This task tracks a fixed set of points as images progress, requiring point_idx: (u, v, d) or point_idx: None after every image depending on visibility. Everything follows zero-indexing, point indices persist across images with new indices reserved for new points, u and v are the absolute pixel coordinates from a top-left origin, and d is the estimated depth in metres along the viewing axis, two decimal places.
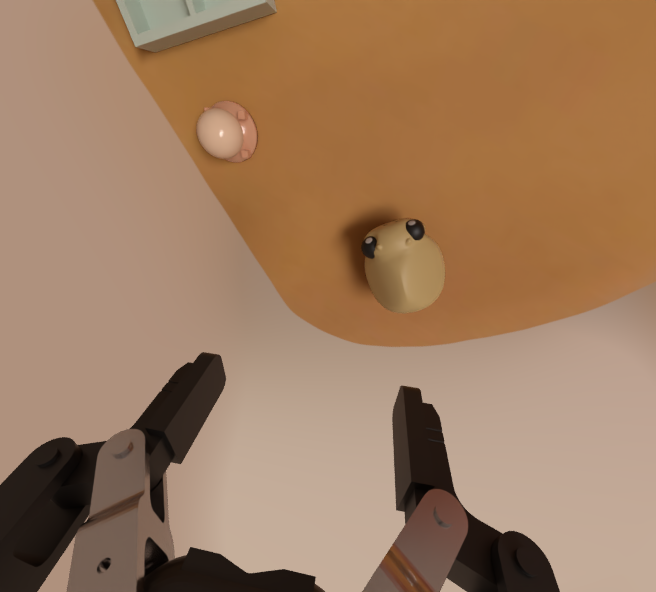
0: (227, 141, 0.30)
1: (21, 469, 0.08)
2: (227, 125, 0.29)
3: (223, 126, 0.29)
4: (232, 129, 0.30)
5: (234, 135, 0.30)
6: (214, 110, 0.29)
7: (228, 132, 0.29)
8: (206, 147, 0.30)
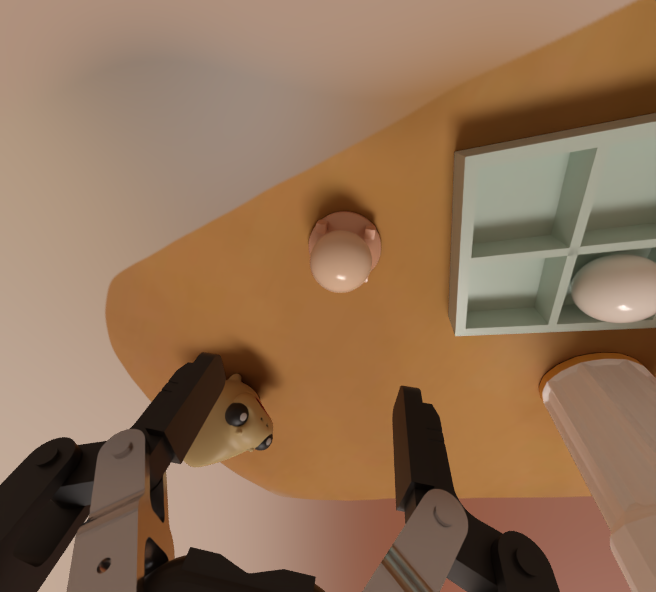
0: (330, 289, 0.21)
1: (20, 469, 0.08)
2: None
3: (348, 289, 0.21)
4: None
5: (338, 292, 0.22)
6: (368, 272, 0.21)
7: (341, 292, 0.22)
8: (321, 261, 0.20)
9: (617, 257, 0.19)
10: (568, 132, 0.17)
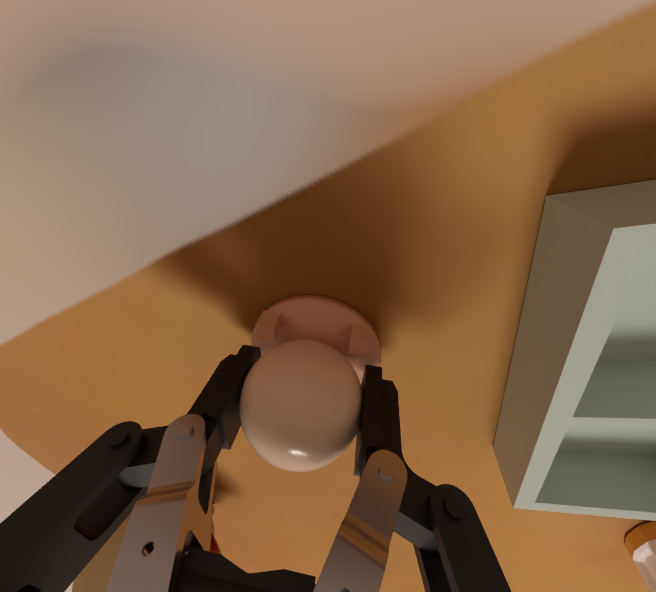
0: None
1: (97, 443, 0.08)
2: None
3: None
4: None
5: None
6: (355, 433, 0.10)
7: None
8: (254, 428, 0.09)
9: None
10: None
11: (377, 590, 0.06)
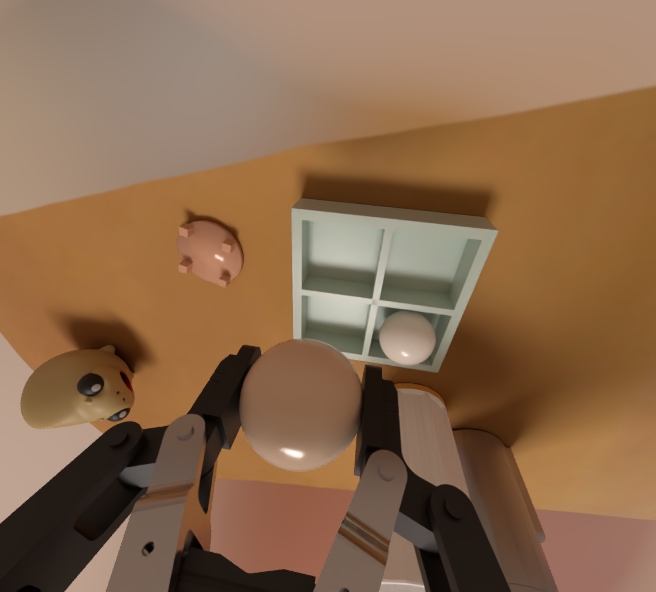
0: None
1: (97, 443, 0.08)
2: None
3: None
4: None
5: None
6: (355, 432, 0.10)
7: None
8: (254, 427, 0.09)
9: (406, 314, 0.24)
10: (377, 210, 0.21)
11: (377, 590, 0.06)
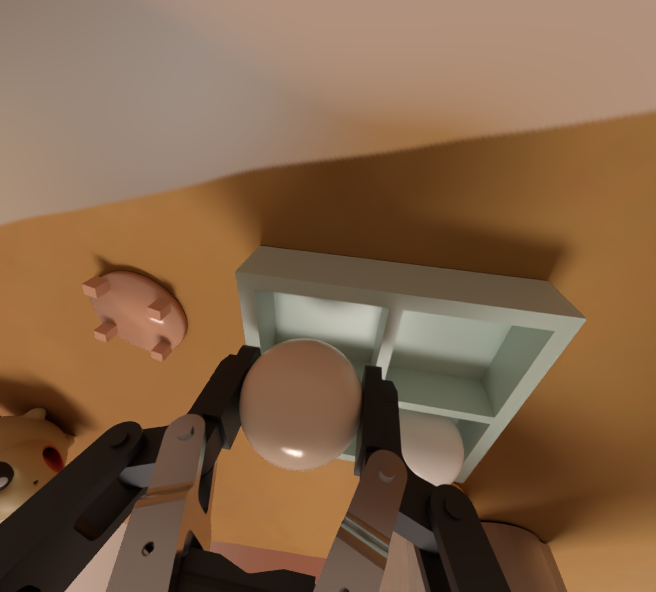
0: None
1: (97, 443, 0.08)
2: None
3: None
4: None
5: None
6: (355, 432, 0.10)
7: None
8: (254, 427, 0.09)
9: (420, 415, 0.16)
10: (376, 270, 0.13)
11: (377, 590, 0.06)
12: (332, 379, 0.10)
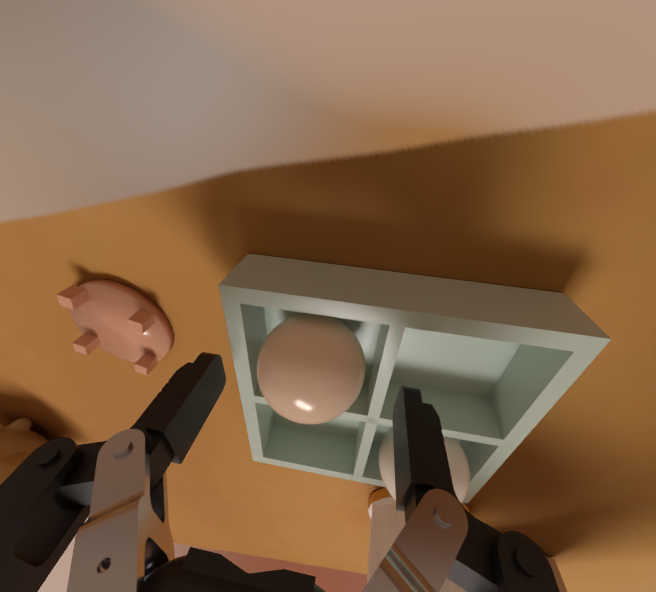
0: None
1: (21, 469, 0.08)
2: None
3: (323, 422, 0.12)
4: None
5: None
6: (358, 391, 0.12)
7: None
8: (271, 383, 0.11)
9: None
10: (375, 282, 0.12)
11: None
12: (338, 343, 0.11)
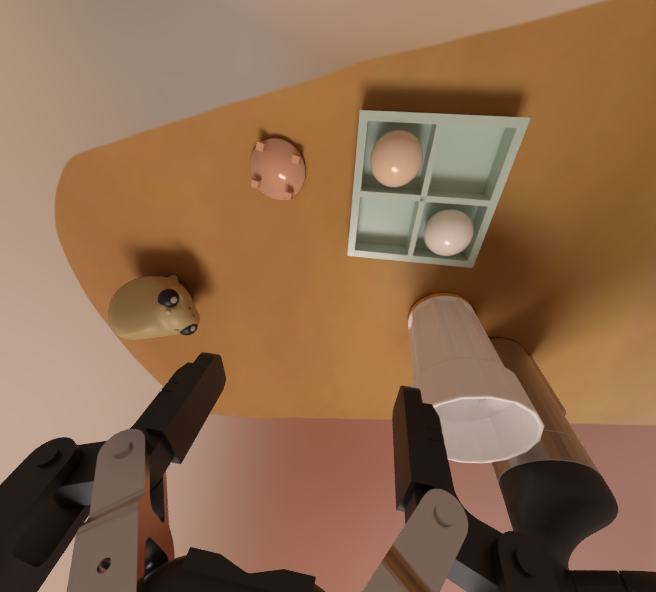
0: (389, 180, 0.26)
1: (21, 469, 0.08)
2: (404, 182, 0.26)
3: (404, 179, 0.26)
4: (400, 185, 0.27)
5: (394, 186, 0.27)
6: (420, 163, 0.26)
7: (397, 183, 0.26)
8: (384, 151, 0.25)
9: (449, 209, 0.29)
10: None
11: None
12: (413, 135, 0.25)
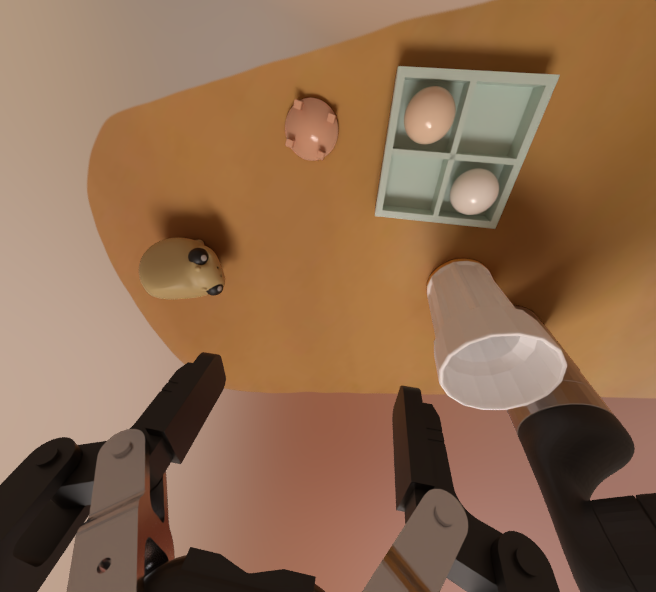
0: (422, 135, 0.27)
1: (21, 469, 0.08)
2: (437, 137, 0.28)
3: (437, 133, 0.27)
4: (432, 140, 0.28)
5: (426, 141, 0.28)
6: (453, 119, 0.27)
7: (430, 137, 0.28)
8: (421, 104, 0.26)
9: (476, 168, 0.30)
10: None
11: None
12: (447, 90, 0.26)
